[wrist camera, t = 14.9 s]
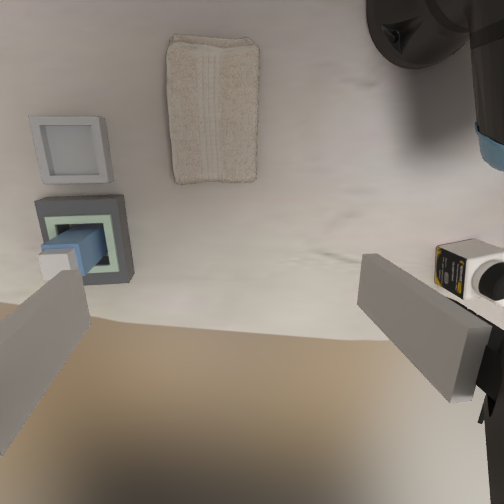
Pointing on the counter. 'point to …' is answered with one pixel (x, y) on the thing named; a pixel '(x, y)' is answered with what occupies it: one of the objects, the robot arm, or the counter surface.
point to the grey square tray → (72, 149)
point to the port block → (92, 211)
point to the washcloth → (213, 108)
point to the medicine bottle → (471, 270)
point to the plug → (73, 250)
